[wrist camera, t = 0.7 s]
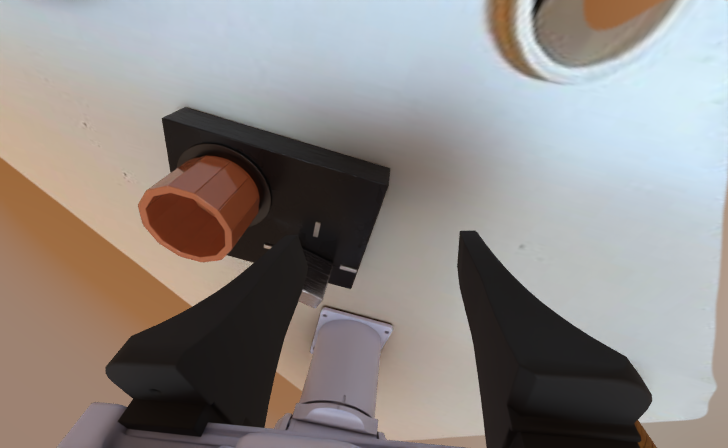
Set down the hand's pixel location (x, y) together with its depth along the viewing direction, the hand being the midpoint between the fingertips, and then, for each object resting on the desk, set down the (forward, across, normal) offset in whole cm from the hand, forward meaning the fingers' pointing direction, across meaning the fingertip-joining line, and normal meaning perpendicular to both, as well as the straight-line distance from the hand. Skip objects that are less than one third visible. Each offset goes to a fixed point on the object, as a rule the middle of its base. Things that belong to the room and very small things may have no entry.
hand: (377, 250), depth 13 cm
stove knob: (+7, +7, +7) cm, 12 cm away
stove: (+10, +9, +3) cm, 14 cm away
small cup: (+7, +12, 0) cm, 14 cm away
